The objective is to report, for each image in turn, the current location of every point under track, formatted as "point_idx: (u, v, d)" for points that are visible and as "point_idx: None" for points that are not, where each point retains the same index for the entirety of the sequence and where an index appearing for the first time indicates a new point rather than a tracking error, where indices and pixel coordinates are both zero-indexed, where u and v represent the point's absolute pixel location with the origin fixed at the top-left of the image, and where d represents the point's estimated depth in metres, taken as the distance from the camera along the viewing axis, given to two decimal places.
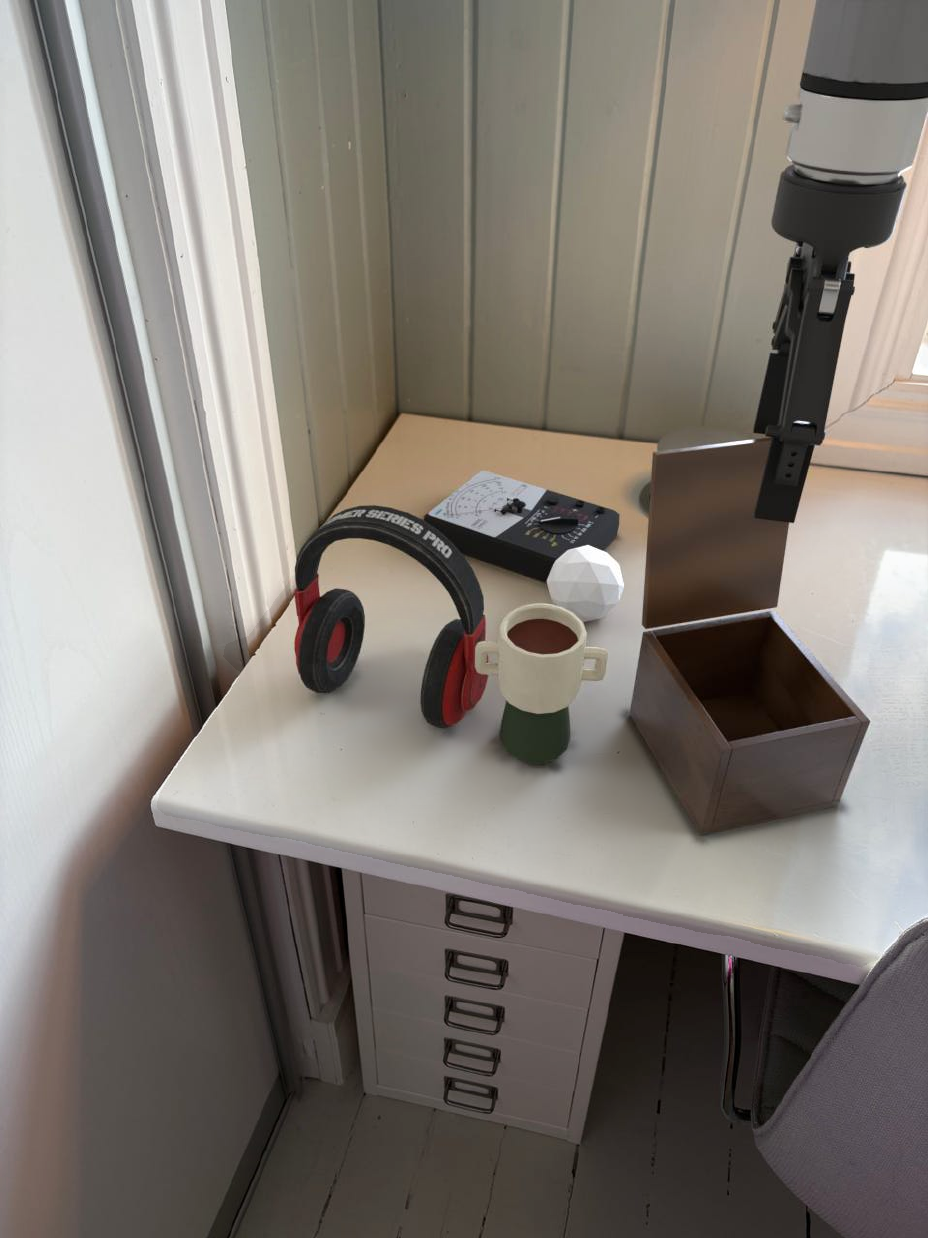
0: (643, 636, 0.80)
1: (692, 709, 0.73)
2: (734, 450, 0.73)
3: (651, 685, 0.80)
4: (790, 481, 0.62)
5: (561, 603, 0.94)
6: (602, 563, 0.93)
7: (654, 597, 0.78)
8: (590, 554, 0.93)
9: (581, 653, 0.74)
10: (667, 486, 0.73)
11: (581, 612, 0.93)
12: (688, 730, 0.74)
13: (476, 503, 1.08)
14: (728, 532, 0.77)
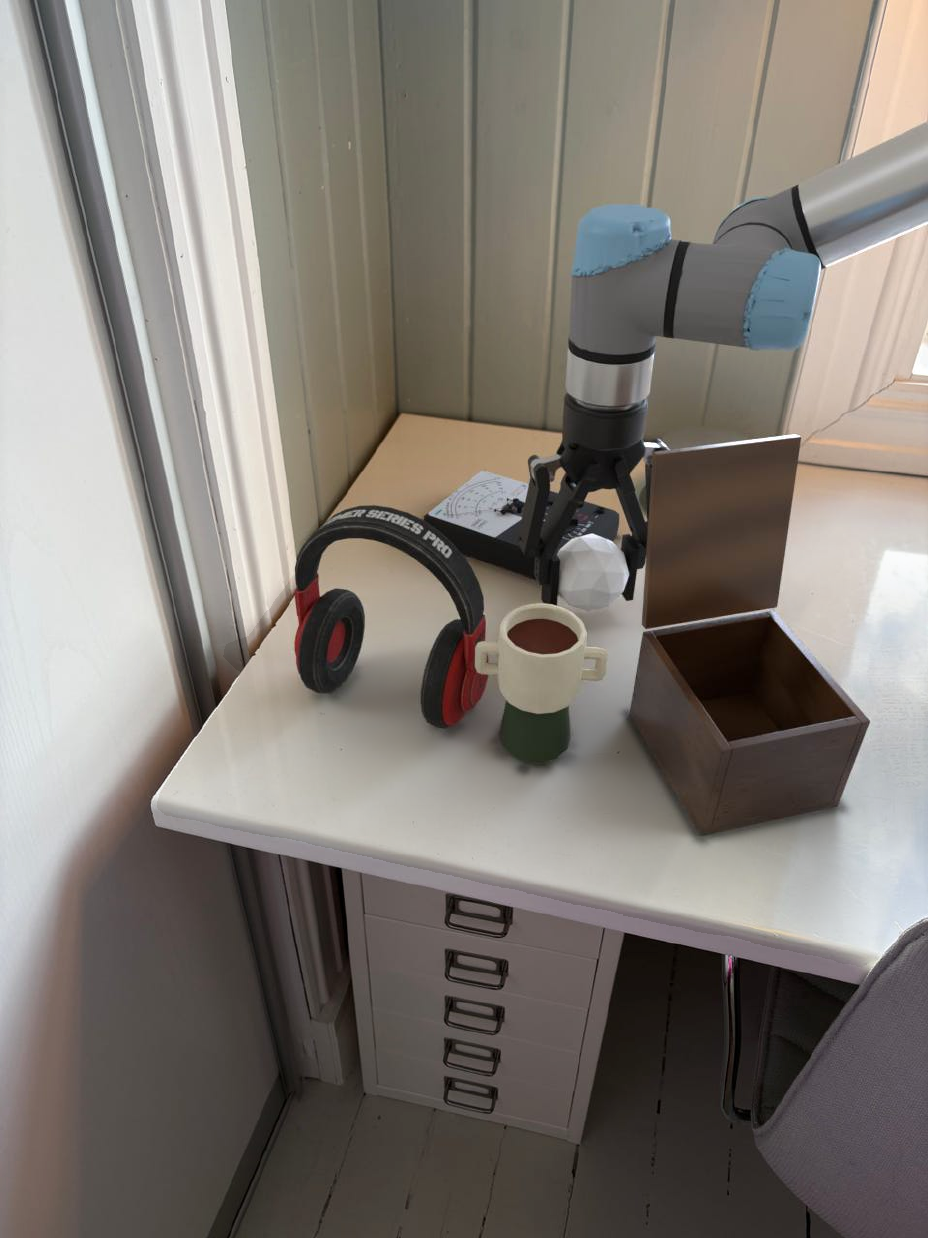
0: (643, 636, 0.80)
1: (692, 709, 0.73)
2: (734, 450, 0.73)
3: (651, 685, 0.80)
4: (537, 579, 0.93)
5: (565, 592, 0.93)
6: (607, 551, 0.92)
7: (654, 597, 0.78)
8: (594, 542, 0.92)
9: (581, 653, 0.74)
10: (667, 486, 0.73)
11: (585, 601, 0.92)
12: (688, 730, 0.74)
13: (476, 503, 1.08)
14: (728, 532, 0.77)
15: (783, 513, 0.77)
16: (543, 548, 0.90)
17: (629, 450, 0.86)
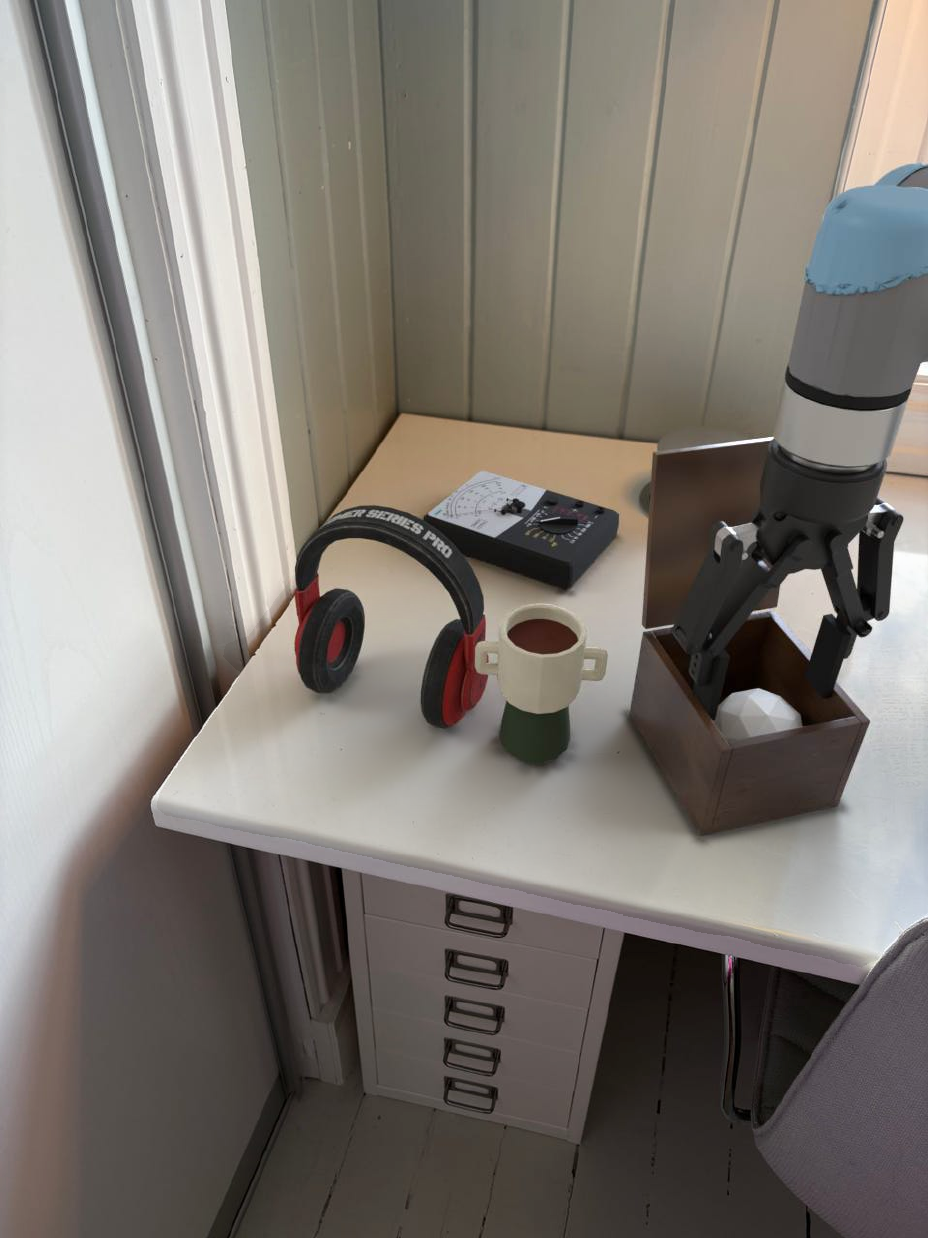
0: (643, 636, 0.80)
1: (692, 709, 0.73)
2: (734, 450, 0.73)
3: (651, 685, 0.80)
4: (694, 679, 0.71)
5: None
6: (784, 717, 0.74)
7: (654, 597, 0.78)
8: (767, 703, 0.75)
9: (581, 653, 0.74)
10: (667, 486, 0.73)
11: None
12: (688, 730, 0.74)
13: (476, 503, 1.08)
14: None
15: None
16: (710, 641, 0.68)
17: None
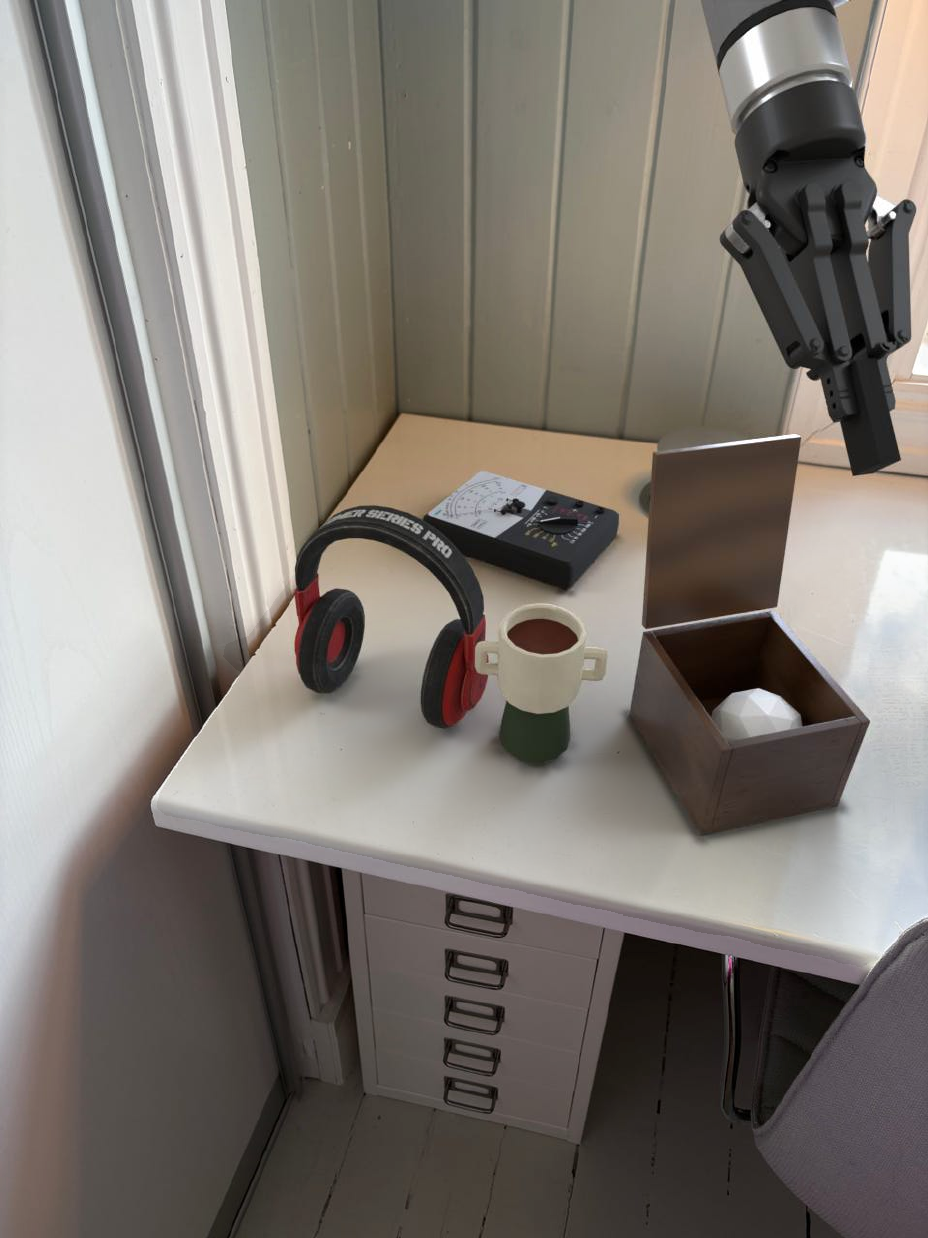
0: (643, 636, 0.80)
1: (692, 709, 0.73)
2: (734, 450, 0.73)
3: (651, 685, 0.80)
4: (839, 411, 0.57)
5: None
6: (784, 717, 0.74)
7: (654, 597, 0.78)
8: (767, 703, 0.75)
9: (581, 653, 0.74)
10: (667, 486, 0.73)
11: None
12: (688, 730, 0.74)
13: (476, 503, 1.08)
14: (728, 532, 0.77)
15: (783, 513, 0.77)
16: (830, 346, 0.56)
17: (852, 179, 0.58)
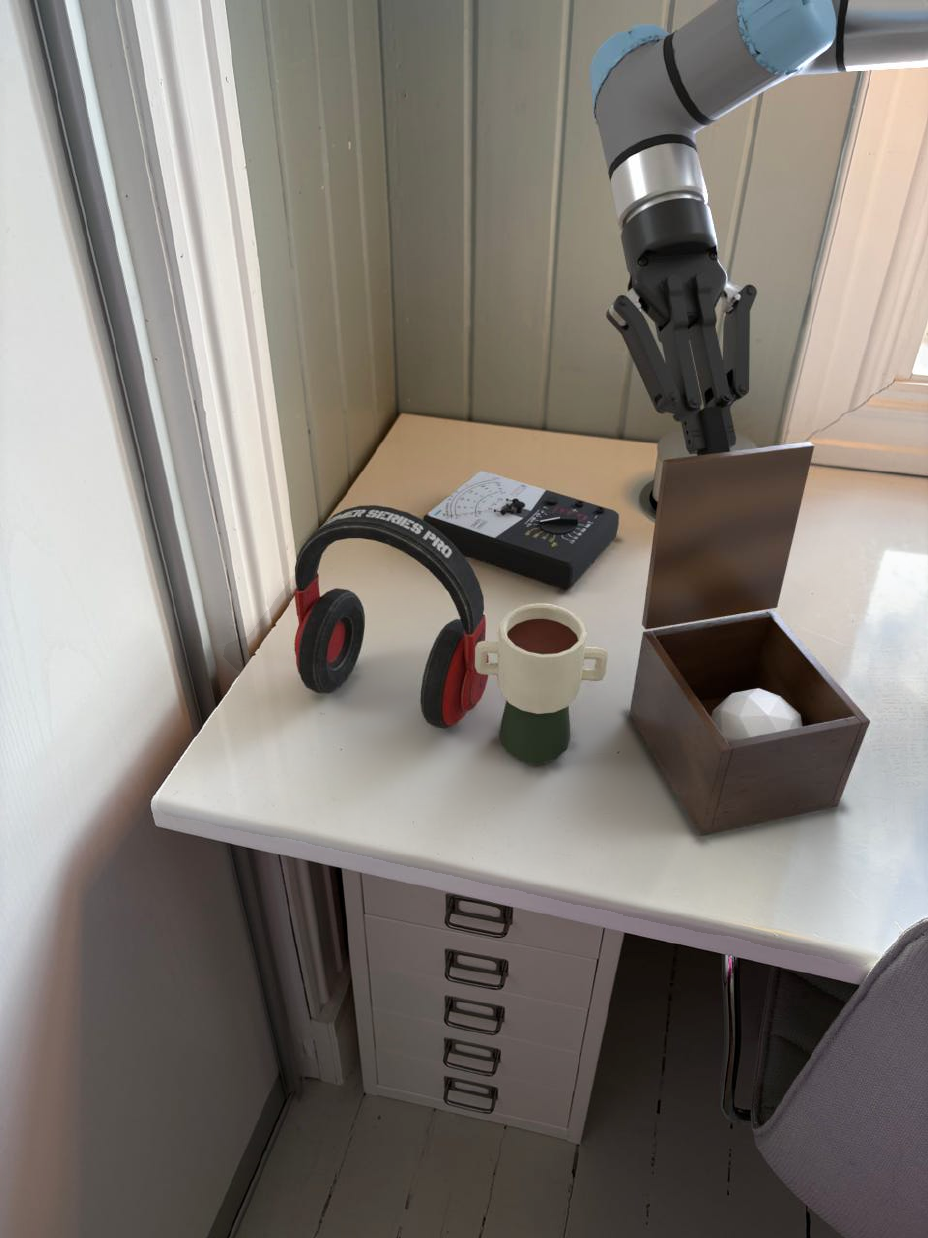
0: (643, 636, 0.80)
1: (692, 709, 0.73)
2: (746, 459, 0.72)
3: (651, 685, 0.80)
4: (692, 446, 0.75)
5: None
6: (784, 717, 0.74)
7: (656, 600, 0.78)
8: (767, 703, 0.75)
9: (581, 653, 0.74)
10: (675, 494, 0.72)
11: None
12: (688, 730, 0.74)
13: (475, 504, 1.08)
14: (734, 538, 0.76)
15: (790, 519, 0.77)
16: (685, 397, 0.75)
17: (707, 269, 0.77)
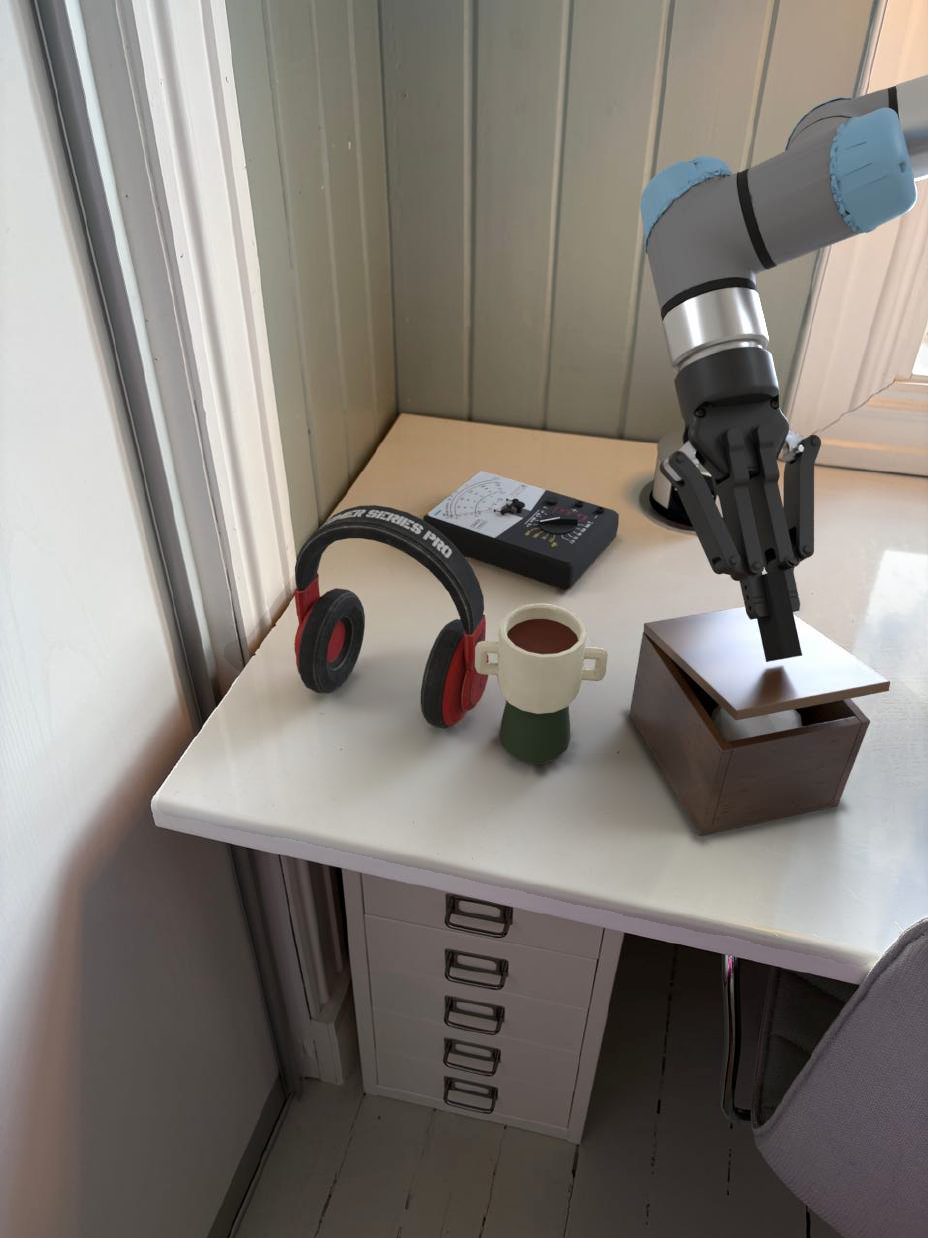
0: (643, 636, 0.80)
1: (692, 709, 0.73)
2: None
3: (651, 685, 0.80)
4: (753, 613, 0.70)
5: None
6: (784, 717, 0.74)
7: None
8: None
9: (581, 653, 0.74)
10: None
11: None
12: (688, 730, 0.74)
13: (475, 504, 1.08)
14: None
15: None
16: (746, 560, 0.70)
17: (768, 419, 0.71)
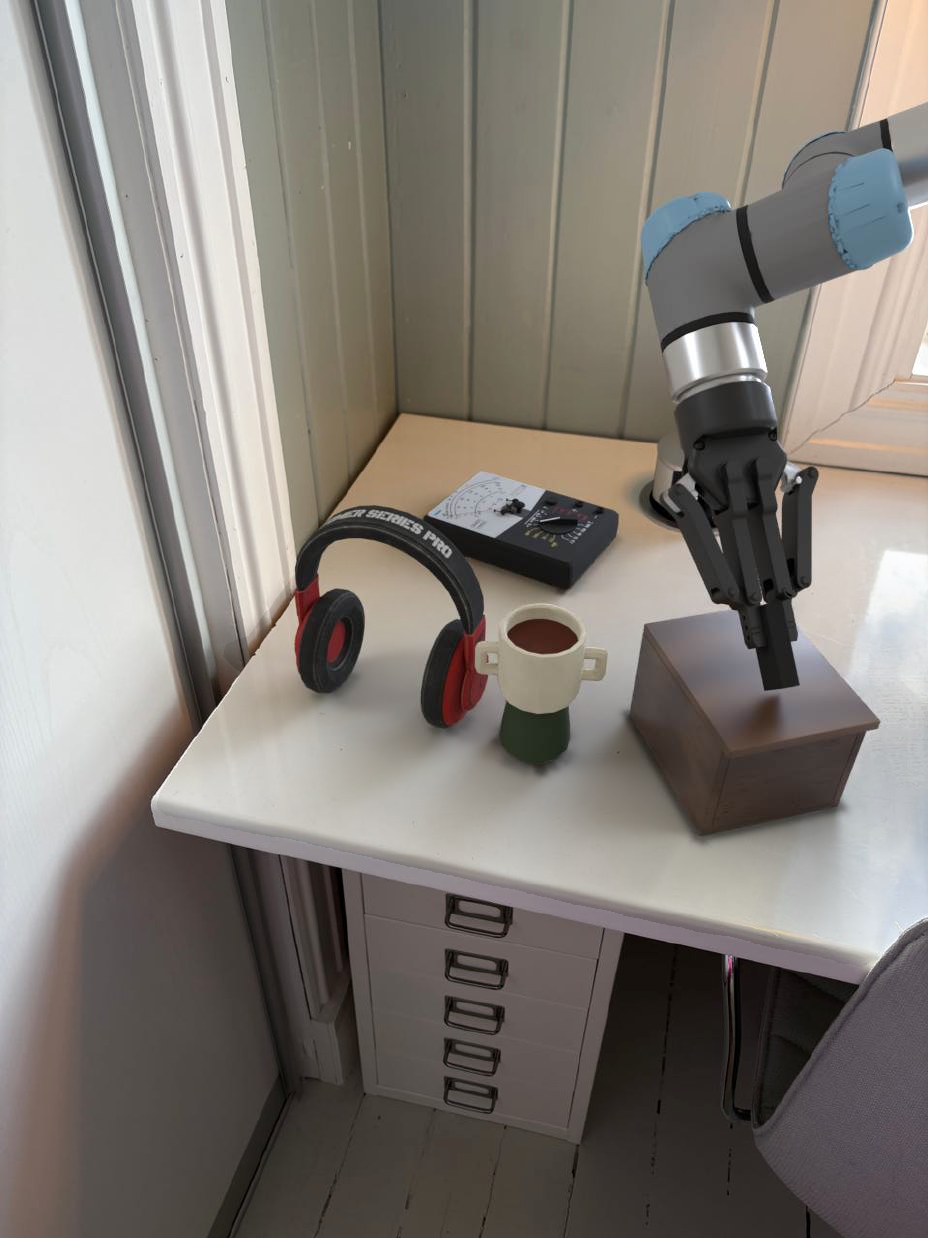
0: (643, 636, 0.80)
1: (692, 709, 0.73)
2: None
3: (651, 685, 0.80)
4: (752, 643, 0.71)
5: None
6: None
7: None
8: None
9: (581, 653, 0.74)
10: None
11: None
12: (688, 730, 0.74)
13: (475, 504, 1.08)
14: None
15: None
16: (744, 591, 0.71)
17: (766, 451, 0.72)
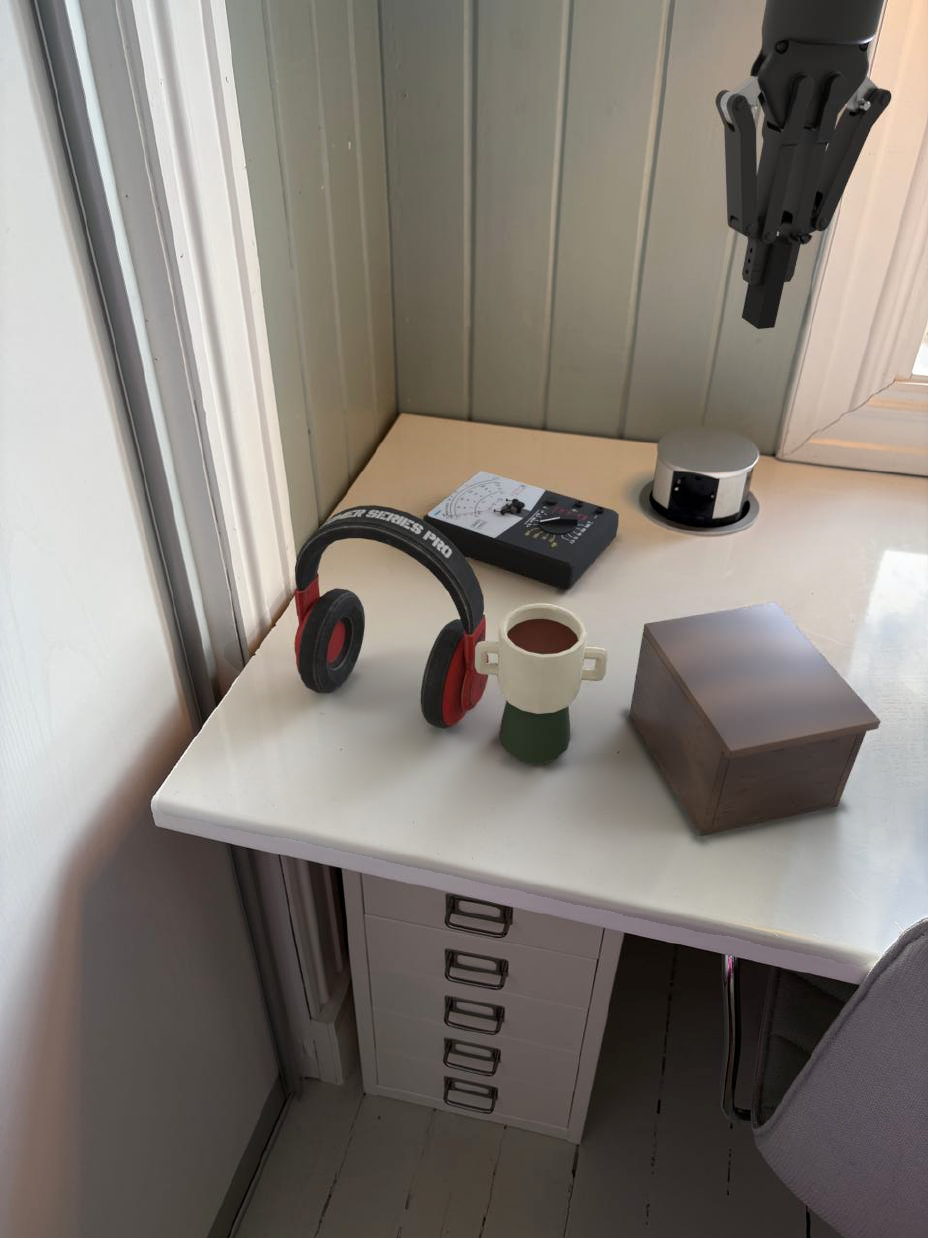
0: (643, 636, 0.80)
1: (692, 709, 0.73)
2: None
3: (651, 685, 0.80)
4: (748, 278, 0.73)
5: None
6: None
7: None
8: None
9: (581, 653, 0.74)
10: None
11: None
12: (688, 730, 0.74)
13: (475, 504, 1.08)
14: None
15: None
16: (762, 228, 0.70)
17: (849, 64, 0.64)
